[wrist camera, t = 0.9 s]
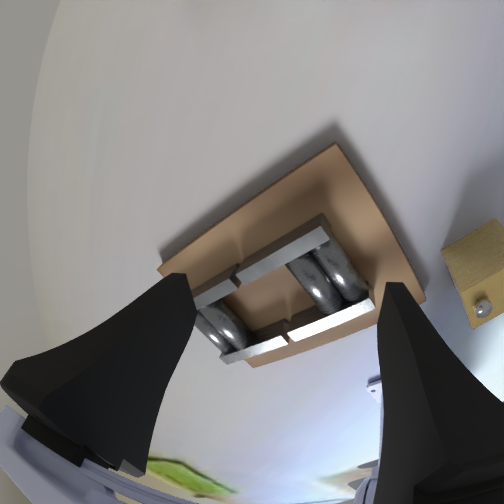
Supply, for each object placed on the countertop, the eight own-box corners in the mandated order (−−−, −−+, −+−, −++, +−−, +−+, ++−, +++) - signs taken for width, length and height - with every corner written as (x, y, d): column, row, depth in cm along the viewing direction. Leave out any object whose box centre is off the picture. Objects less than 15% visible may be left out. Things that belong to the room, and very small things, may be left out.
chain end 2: (374, 290, 20) (375, 308, 18) (298, 323, 23) (294, 341, 22) (322, 212, 18) (320, 225, 17) (243, 258, 22) (235, 274, 20)
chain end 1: (292, 326, 24) (288, 343, 22) (233, 348, 27) (226, 364, 25) (237, 262, 22) (228, 278, 20) (181, 295, 25) (171, 310, 24)
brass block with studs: (505, 255, 17) (535, 300, 12) (454, 284, 19) (474, 335, 15) (495, 218, 16) (530, 259, 11) (440, 250, 18) (463, 299, 14)
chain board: (424, 292, 20) (426, 300, 19) (255, 360, 29) (253, 368, 28) (335, 141, 17) (336, 144, 16) (162, 263, 25) (156, 269, 24)
